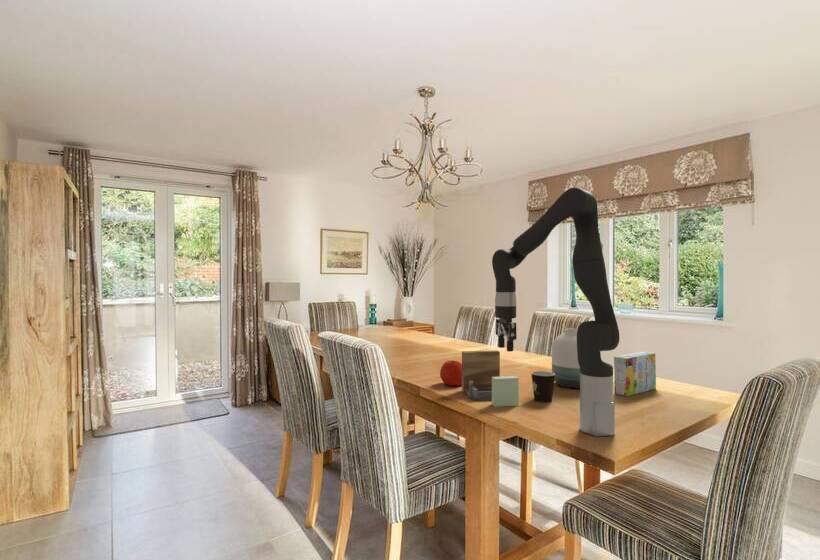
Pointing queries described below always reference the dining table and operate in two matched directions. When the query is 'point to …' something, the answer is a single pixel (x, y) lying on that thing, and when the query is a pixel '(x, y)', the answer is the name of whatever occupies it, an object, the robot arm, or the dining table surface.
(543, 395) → the coffee mug
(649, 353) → the snack box
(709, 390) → the dining table surface
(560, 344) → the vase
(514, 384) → the pale green flat block
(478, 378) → the desk organizer
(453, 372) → the apple
